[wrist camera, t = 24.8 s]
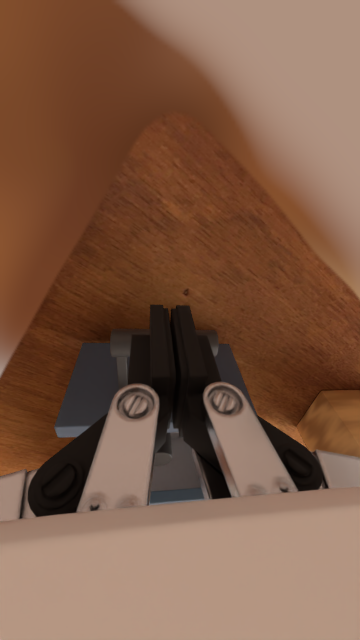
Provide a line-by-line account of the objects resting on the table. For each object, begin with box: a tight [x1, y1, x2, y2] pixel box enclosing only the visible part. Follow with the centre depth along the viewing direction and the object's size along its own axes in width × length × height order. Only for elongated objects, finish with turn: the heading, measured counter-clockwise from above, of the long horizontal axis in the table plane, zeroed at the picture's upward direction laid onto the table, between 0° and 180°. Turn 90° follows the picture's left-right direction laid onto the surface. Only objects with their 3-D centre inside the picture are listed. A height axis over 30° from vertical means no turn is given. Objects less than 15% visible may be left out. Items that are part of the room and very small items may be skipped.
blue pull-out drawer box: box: [54, 329, 257, 491], centre depth 20 cm, size 20×13×7 cm, turn 174°
